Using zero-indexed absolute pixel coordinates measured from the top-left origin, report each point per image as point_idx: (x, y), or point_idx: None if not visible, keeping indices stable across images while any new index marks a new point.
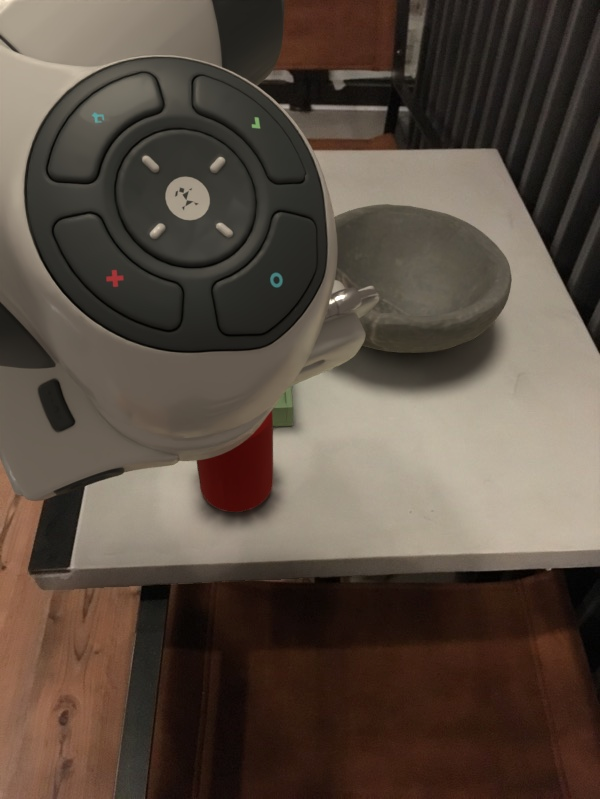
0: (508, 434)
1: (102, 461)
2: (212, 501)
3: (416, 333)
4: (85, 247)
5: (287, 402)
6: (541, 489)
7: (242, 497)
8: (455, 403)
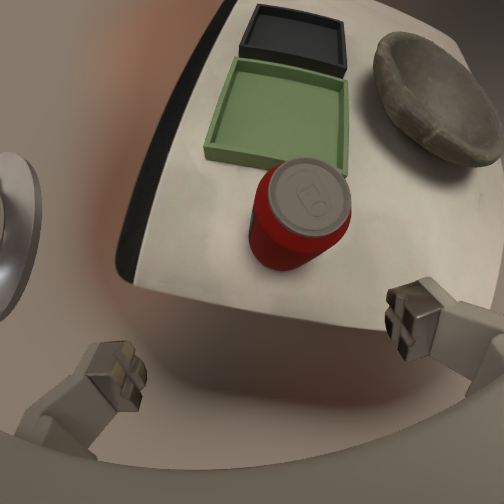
0: (471, 241)
1: None
2: (257, 257)
3: (460, 154)
4: None
5: (343, 169)
6: (475, 292)
7: (287, 268)
8: (450, 203)
